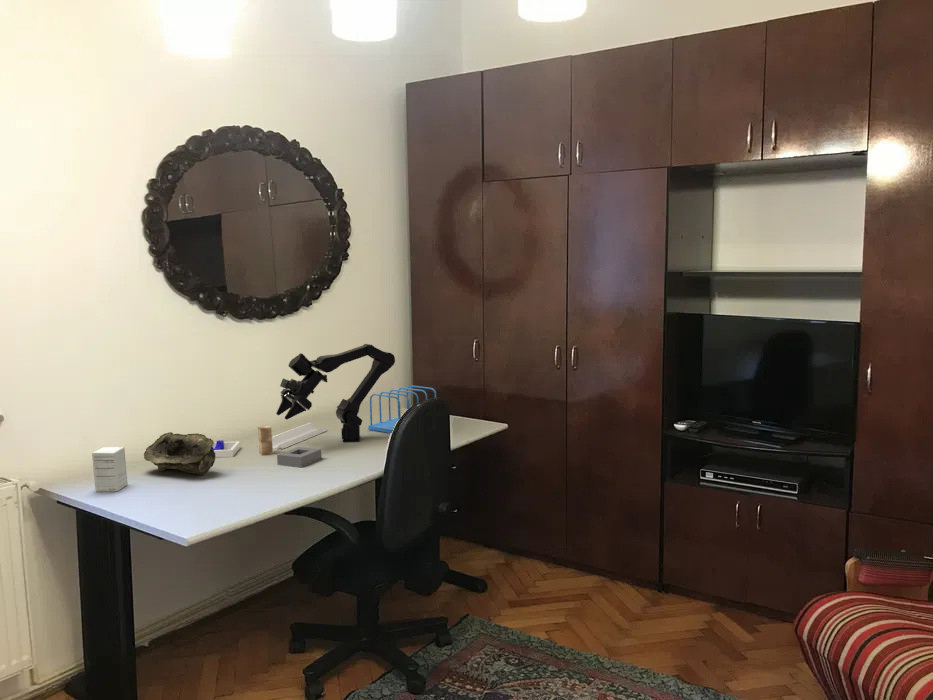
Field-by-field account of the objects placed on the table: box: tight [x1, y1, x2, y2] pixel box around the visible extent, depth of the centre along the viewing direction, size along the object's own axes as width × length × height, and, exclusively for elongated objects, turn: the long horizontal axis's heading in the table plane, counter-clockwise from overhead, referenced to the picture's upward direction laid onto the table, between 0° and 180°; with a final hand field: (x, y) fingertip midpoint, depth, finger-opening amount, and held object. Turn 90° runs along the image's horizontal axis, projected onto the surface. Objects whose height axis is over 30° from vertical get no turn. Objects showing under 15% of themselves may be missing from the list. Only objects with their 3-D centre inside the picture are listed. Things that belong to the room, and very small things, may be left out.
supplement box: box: [91, 446, 129, 493], centre depth 252 cm, size 7×7×13 cm
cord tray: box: [213, 441, 241, 459], centre depth 294 cm, size 13×13×2 cm
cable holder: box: [211, 439, 225, 450], centre depth 294 cm, size 8×4×4 cm, turn 159°
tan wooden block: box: [257, 425, 274, 456], centre depth 290 cm, size 4×3×10 cm
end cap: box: [276, 446, 323, 468], centre depth 279 cm, size 12×10×4 cm
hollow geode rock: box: [143, 431, 216, 476], centre depth 270 cm, size 28×13×15 cm
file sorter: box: [367, 385, 437, 434], centre depth 329 cm, size 25×17×15 cm
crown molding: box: [256, 422, 329, 450], centre depth 313 cm, size 31×12×4 cm, turn 158°
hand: (281, 416), depth 293 cm, fingers open, 9 cm apart
